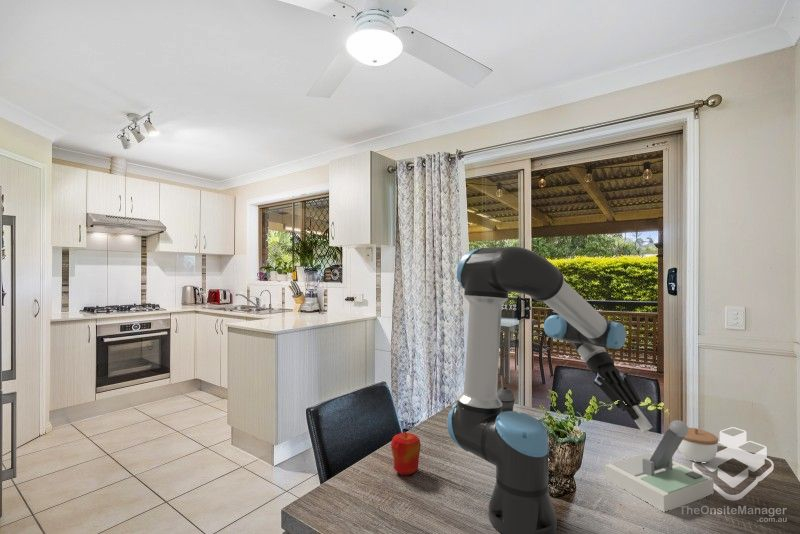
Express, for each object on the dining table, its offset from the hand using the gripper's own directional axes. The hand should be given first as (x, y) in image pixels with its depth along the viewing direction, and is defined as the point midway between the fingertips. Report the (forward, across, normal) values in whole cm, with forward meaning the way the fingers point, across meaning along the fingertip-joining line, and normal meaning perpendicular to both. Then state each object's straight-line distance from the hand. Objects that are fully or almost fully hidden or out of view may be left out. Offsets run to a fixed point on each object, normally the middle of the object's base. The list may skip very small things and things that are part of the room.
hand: (647, 429), depth 106 cm
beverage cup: (-20, -15, +41) cm, 48 cm away
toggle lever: (+8, 0, +5) cm, 10 cm away
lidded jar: (+8, +27, +13) cm, 31 cm away
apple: (-11, -60, +31) cm, 69 cm away
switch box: (+12, 0, +8) cm, 15 cm away
